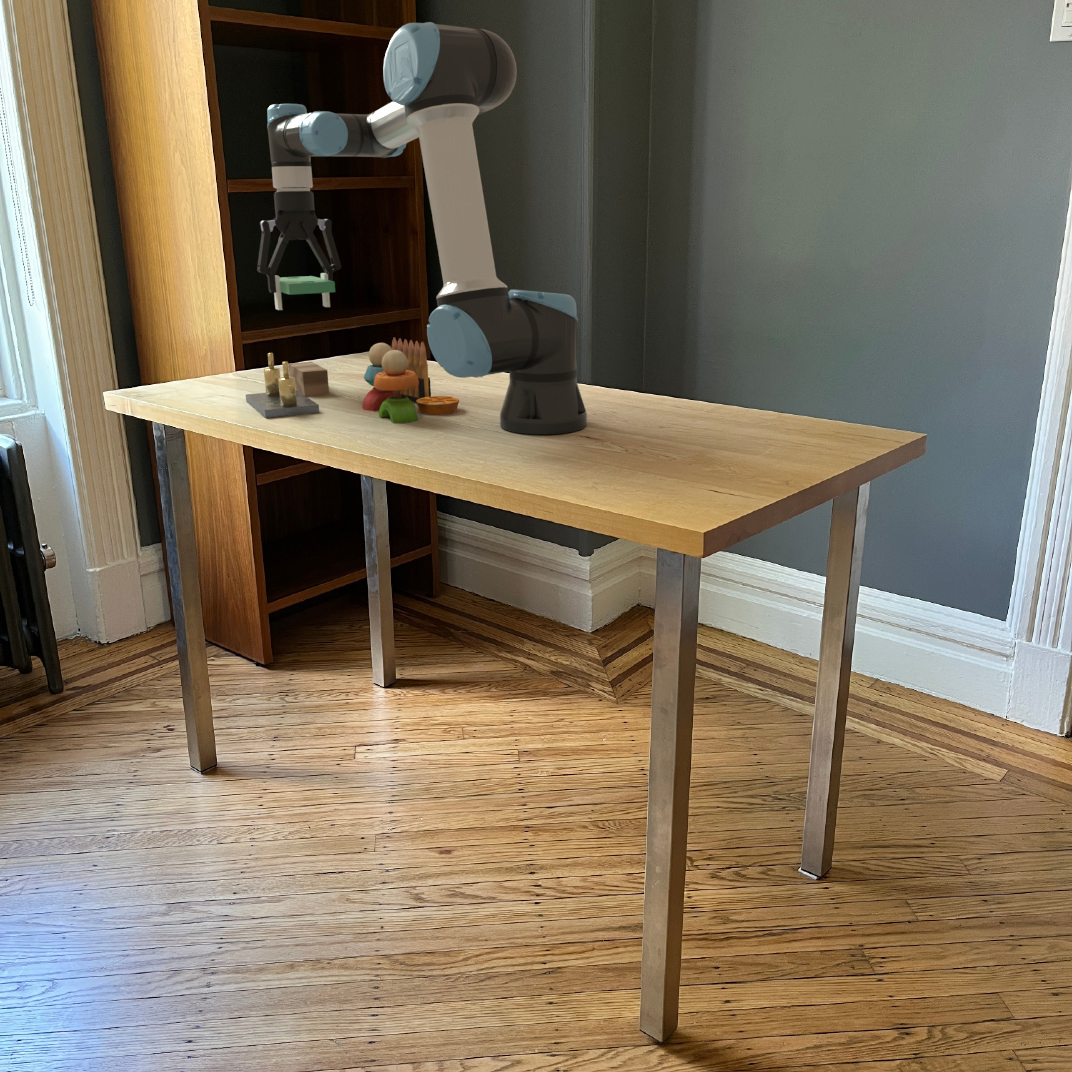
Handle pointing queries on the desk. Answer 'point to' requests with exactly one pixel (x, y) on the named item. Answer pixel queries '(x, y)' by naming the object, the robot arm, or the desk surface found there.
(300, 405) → the chassis
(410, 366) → the ammunition clip
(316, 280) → the board
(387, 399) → the colourful wooden toy set
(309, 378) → the stand
